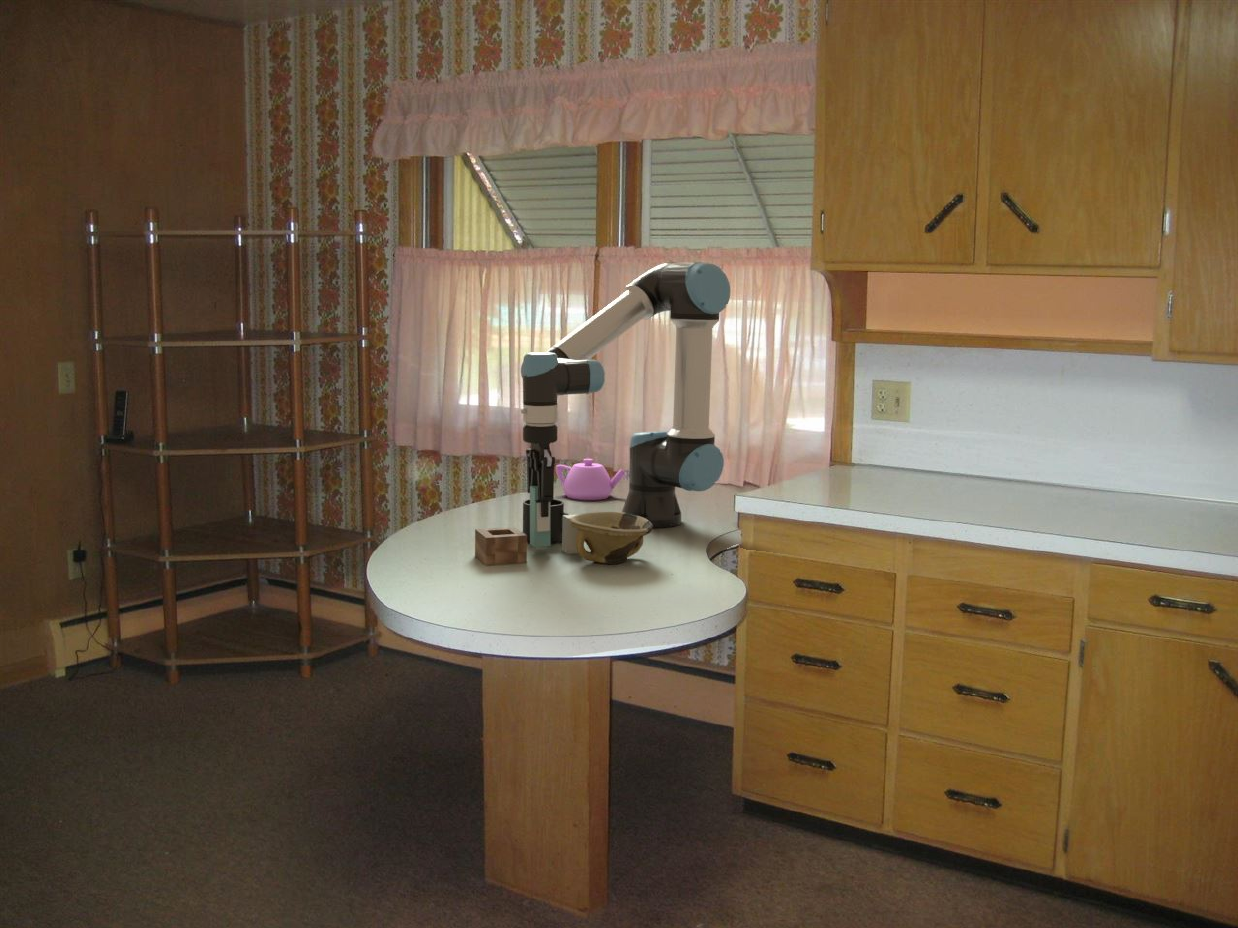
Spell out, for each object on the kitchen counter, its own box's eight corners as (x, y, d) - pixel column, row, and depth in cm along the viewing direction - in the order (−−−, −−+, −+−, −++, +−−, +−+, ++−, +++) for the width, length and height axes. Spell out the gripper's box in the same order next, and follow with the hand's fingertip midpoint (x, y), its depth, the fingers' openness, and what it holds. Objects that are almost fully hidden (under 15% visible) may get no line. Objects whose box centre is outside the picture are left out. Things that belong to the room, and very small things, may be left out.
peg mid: (577, 549, 273) (577, 514, 271) (582, 552, 269) (583, 517, 268) (562, 550, 271) (562, 515, 270) (567, 553, 268) (567, 518, 267)
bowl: (592, 574, 250) (593, 529, 248) (556, 555, 266) (557, 513, 264) (666, 567, 258) (667, 523, 257) (627, 549, 274) (628, 508, 272)
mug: (565, 547, 274) (565, 508, 273) (516, 542, 278) (516, 504, 276) (579, 539, 283) (579, 501, 282) (531, 534, 286) (532, 497, 285)
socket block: (514, 553, 267) (514, 526, 266) (526, 562, 259) (527, 535, 258) (475, 555, 264) (475, 529, 263) (486, 565, 255) (486, 537, 254)
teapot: (622, 503, 329) (623, 464, 327) (550, 499, 331) (551, 461, 330) (628, 494, 343) (629, 457, 341) (559, 490, 345) (560, 453, 343)
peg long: (545, 542, 270) (545, 485, 267) (550, 545, 266) (550, 488, 264) (529, 543, 268) (529, 486, 266) (534, 547, 265) (534, 489, 263)
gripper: (512, 419, 269) (513, 522, 273) (535, 429, 254) (535, 538, 258) (544, 418, 272) (544, 520, 276) (569, 428, 257) (568, 535, 260)
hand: (540, 528), depth 267 cm, fingers closed on peg long, 4 cm apart
